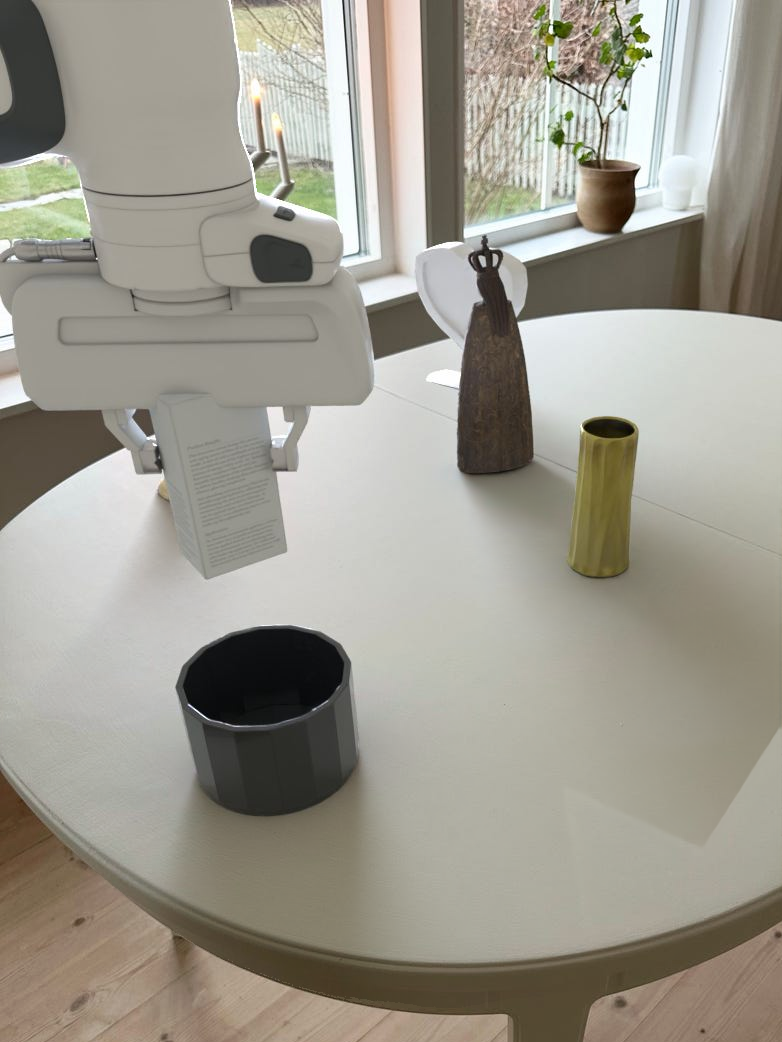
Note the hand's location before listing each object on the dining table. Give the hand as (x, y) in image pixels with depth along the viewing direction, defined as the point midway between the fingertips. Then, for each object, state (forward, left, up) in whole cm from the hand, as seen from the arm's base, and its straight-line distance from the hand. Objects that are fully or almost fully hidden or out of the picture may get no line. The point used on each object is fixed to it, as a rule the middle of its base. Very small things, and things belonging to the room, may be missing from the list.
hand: (219, 469), depth 60 cm
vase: (+29, +25, -23) cm, 45 cm away
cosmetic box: (0, 0, -6) cm, 7 cm away
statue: (+20, +48, -23) cm, 57 cm away
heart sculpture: (+18, +73, -23) cm, 79 cm away
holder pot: (+1, -2, -23) cm, 23 cm away
